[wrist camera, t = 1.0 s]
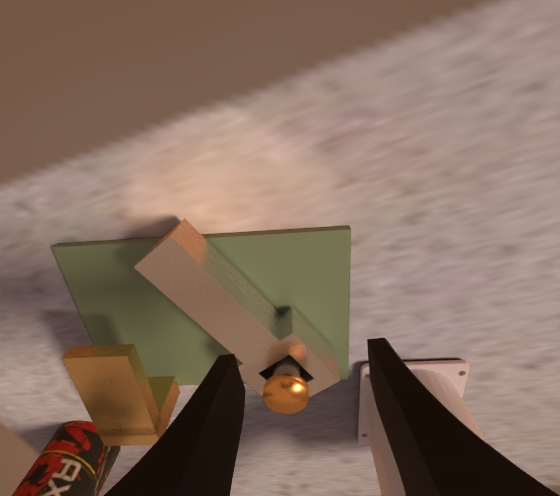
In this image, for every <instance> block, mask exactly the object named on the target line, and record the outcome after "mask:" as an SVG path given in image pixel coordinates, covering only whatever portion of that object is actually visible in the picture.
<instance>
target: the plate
mask: <svg viewBox="0 0 560 496" xmlns="http://www.w3.org/2000/svg"><path fill="white" fill-rule="evenodd" d="M202 236H203V237H204V238H205V239H206V240H207V241H208V242H209V243H210V244H211V245H212V246H213V247H214V248H215V249H216V250H217V251H218V252H219V253H220V254H221V255H222V256H223V257H224V258H225V259H226V260H227V261H228V262H229V263H230V264H231V265H232V266H233V267H234V268H235V269H236V270H237V271H238V272H239V273H240V274H241V275H242V276H243V277H244V278H245V279H246V280H247V281H248V282H249V283H250V284H251V285H252V286H253V287H254V288H255V289H256V290H257V291H258V292H259V293H260V294H261V295H262V296H263V297H264V298H265V299H266V300H267V301H268V302H269V303H270V304H271V305H272V306H273V307H274V308H275V309H276V310H277V311H278V312H279V313H280V314H283V313H284V312H286V311H288V310H289V309H291V308H293V309H294V310H295V311H296V312H297V313H298V314H299V315H300V316H301V317H302V318H303V319H304V320H305V321H306V322H307V323H308V324H309V325H310V326H311V327H312V328H313V329H314V330H315V331H316V332H317V334H318V335H319V336H320V337H321V338H322V339H323V340H324V341H325V342H326V343H327V344H328V345H329V346H330V347H331V348H332V349H333V350H334V351H335V353H336V359H337V365H338V371H339V376H340V380H348V361H349V308H350V255H351V228H350V226H337V227H320V228H304V229H288V230H272V231H255V232H239V233H223V234H206V235H202ZM162 238H163V237H157V238H141V239H125V240H108V241H92V242H76V243H59V244H57V245H55V246H53V247H52V249H53V251H54V254H55V256H56V258H57V261H58V263H59V265H60V268H61V270H62V272H63V275H64V277H65V279H66V282H67V284H68V286H69V289H70V291H71V293H72V296H73V298H74V301H75V303H76V305H77V308H78V310H79V312H80V315H81V317H82V319H83V322H84V324H85V326H86V329H87V331H88V333H89V336H90V338H91V340H92V343H93V345H94V346H99V345H123V344H135V346H136V349H137V352H138V355H139V357H140V360H141V363H142V366H143V369H144V371H145V374H146V377H166V376H175V377H176V380H177V384H178V385H200V384H201V382H202V381H203V379H204V378H205V376H206V375H207V373H208V371H209V370H210V368H211V367H212V365H213V364H214V362H215V361H216V359H217V358H218V356H219V355H226V354H232V353H231V352H230V351H229V350H227V349H226V348H225V347H224V346H223V345H222V344H221V343H219V342H218V341H217V340H216V339H215V338H214V337H213V336H211V335H210V334H209V333H208V332H207V331H206V330H205V329H203V328H202V327H201V326H200V325H199V324H198V323H197V322H195V321H194V320H193V319H192V318H191V317H190V316H189V315H187V314H186V313H185V312H184V311H183V310H182V309H181V308H179V307H178V306H177V305H176V304H175V303H174V302H173V301H171V300H170V299H169V298H168V297H167V296H166V295H165V294H164V293H162V292H161V291H160V290H159V289H158V288H157V287H156V286H154V285H153V284H152V283H151V282H150V281H149V280H148V279H146V278H145V277H144V276H143V275H142V274H141V273H140V272H138V271H137V270H136V269H135V268H134V266H135V265H136V264H137V263H138V262H139V261H140V259H141V258H142V257H143V256H144V255H145V254H146V253H147V252H148V251H149V250H150V249H151V247H152V246H154V245H155V244H156V243H157V242H158V241H159V240H161V239H162ZM242 381H243V383H246V382H245V381H244V380H242Z"/></svg>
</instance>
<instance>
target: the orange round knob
mask: <svg viewBox="0 0 560 496" xmlns="http://www.w3.org/2000/svg"><path fill="white" fill-rule="evenodd" d="M263 401H264V403H265V405H266V406H267V407H268V408H269V409H271V410H272V411H274V412H277V413H281V414H292V413H296V412H299V411H301V410H302V409H304V408H305V407H306V406H307V404H308V402H309V387H308V385H307V383H306V381H305V380H304V379H302V378H301V377H300V364H299V363H298V362H297V361H296V360H295V359H294V358H293V357H291V356H290V355H288V356H286V357H284V358H283V359H281V360H279V361H278V362H276V363H274V364H273V375H272V377H271V378H269V379H268V380H267V381H266V382H265V384H264V389H263Z"/></svg>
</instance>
